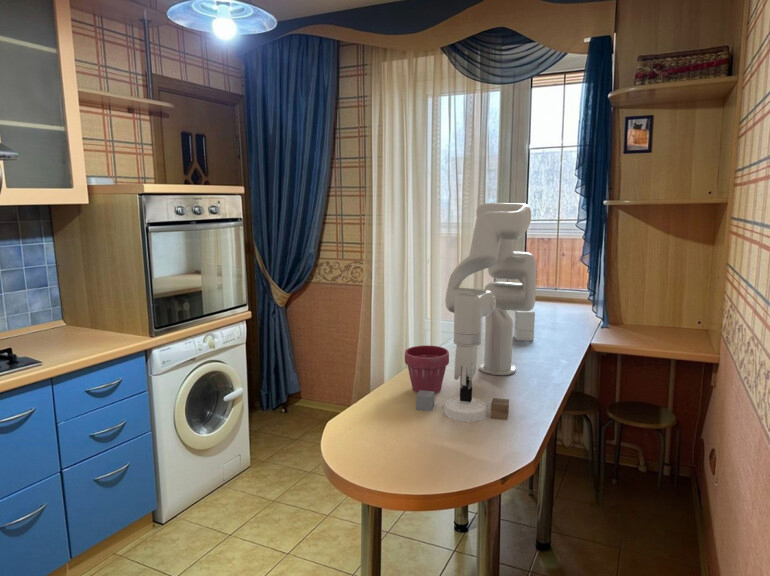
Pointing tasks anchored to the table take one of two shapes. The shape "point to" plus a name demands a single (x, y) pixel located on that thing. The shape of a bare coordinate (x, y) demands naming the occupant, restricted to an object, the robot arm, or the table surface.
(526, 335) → the supplement box
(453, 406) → the mooncake
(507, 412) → the walnut block
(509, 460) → the table surface
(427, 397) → the slate-grey block
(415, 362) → the plant pot
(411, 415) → the table surface
